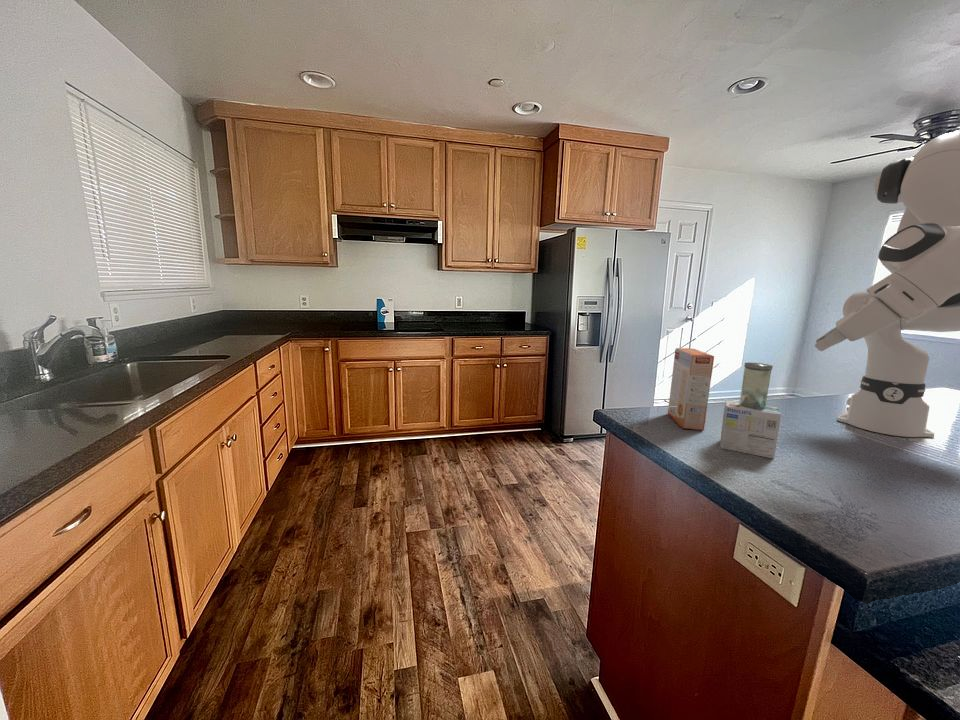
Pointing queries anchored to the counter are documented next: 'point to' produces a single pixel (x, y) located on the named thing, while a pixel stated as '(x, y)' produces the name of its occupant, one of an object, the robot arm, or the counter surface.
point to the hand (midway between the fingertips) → (817, 346)
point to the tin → (755, 385)
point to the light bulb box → (750, 429)
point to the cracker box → (690, 387)
